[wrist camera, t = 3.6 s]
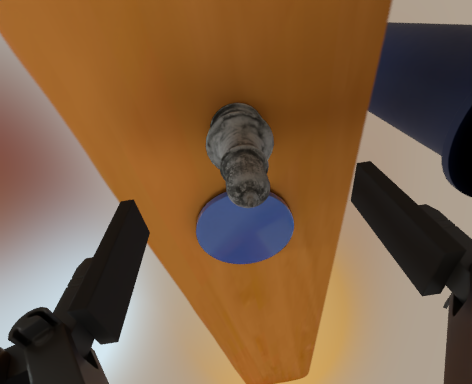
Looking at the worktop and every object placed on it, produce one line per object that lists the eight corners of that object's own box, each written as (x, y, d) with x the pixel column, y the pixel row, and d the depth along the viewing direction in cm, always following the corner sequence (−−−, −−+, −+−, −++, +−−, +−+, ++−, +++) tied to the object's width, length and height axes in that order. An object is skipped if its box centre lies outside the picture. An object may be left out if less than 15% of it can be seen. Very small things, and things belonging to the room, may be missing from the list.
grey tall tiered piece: (224, 87, 22) (232, 143, 12) (278, 118, 24) (322, 189, 14) (196, 141, 25) (184, 223, 15) (247, 165, 27) (265, 252, 17)
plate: (310, 214, 31) (314, 222, 30) (251, 266, 36) (252, 274, 35) (234, 166, 27) (235, 173, 25) (179, 234, 32) (177, 242, 30)
